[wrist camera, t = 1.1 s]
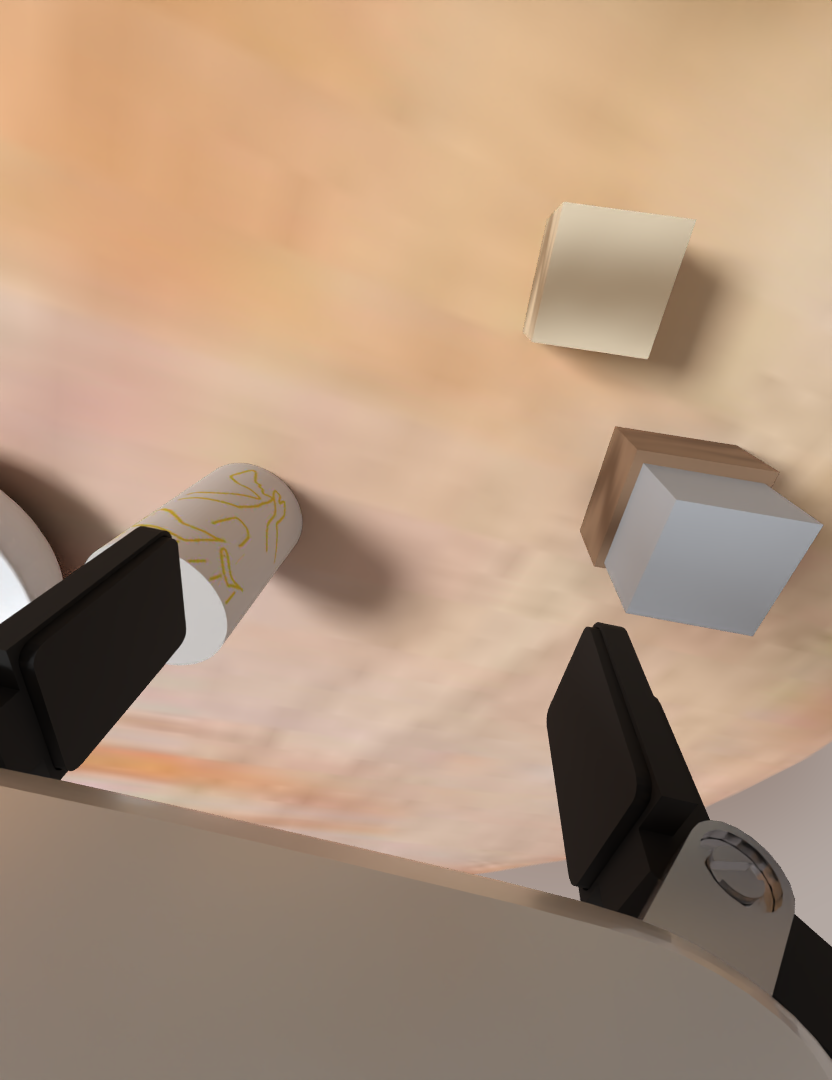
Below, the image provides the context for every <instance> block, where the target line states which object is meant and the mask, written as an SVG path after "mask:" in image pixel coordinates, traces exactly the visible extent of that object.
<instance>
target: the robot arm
mask: <svg viewBox="0 0 832 1080" xmlns="http://www.w3.org/2000/svg"><path fill="white" fill-rule="evenodd" d="M185 636H186V620H185V610H184V599H183V589H182V579H181V569H180V559H179V548H178V542H177V541H176V540H175V539H172V536H171V534H170V532H168V531H165V530H160V529H156V528H151V527H146V526H140V527H138V528H136V529H134V530H133V531H132V532H130V533H129V534H127V535H126V536H124V537H123V538H122V539H120V540H119V541H117V542H116V543H114V544H113V545H112V546H110V547H109V548H107V549H106V550H104V551H103V552H102V553H100V554H99V555H97V556H96V557H94V558H93V559H92V560H90V561H89V562H87V563H86V564H84V565H83V566H82V567H80V568H79V569H77V570H76V571H75V572H73V573H72V574H70V575H69V576H67V577H66V578H65V579H63V580H62V581H60V582H59V583H57V584H56V585H55V586H53V587H52V588H50V589H49V590H47V591H46V592H45V593H43V594H42V595H40V596H39V597H37V598H36V599H35V600H33V601H32V602H30V603H29V604H27V605H26V606H25V607H23V608H22V609H20V610H19V611H18V612H16V613H15V614H13V615H12V616H10V617H9V618H8V619H6V620H5V621H3V622H2V623H0V1080H832V947H831V946H830V945H829V944H828V943H827V942H826V941H824V940H823V939H822V938H821V937H820V936H819V935H817V933H815V932H814V931H813V930H812V929H811V928H809V926H807V925H806V924H805V923H804V922H803V921H802V920H801V919H800V918H798V917H797V916H796V915H795V914H794V913H795V898H794V895H793V892H792V888H791V885H790V883H789V881H788V879H787V877H786V876H785V874H784V872H783V871H782V869H781V867H780V866H779V865H778V863H777V862H776V861H775V860H774V858H773V857H772V856H771V855H770V854H769V852H768V851H766V850H765V849H764V848H763V847H762V846H761V845H760V844H759V843H758V842H757V841H755V840H754V839H753V838H752V837H750V836H749V835H747V834H746V833H744V832H743V831H741V830H739V829H738V828H736V827H734V826H731V825H729V824H726V823H724V822H720V821H713V820H710V819H709V817H708V814H707V812H706V809H705V807H704V805H703V802H702V800H701V798H700V795H699V793H698V791H697V788H696V786H695V784H694V781H693V779H692V776H691V774H690V772H689V769H688V767H687V765H686V762H685V760H684V758H683V755H682V753H681V751H680V748H679V746H678V744H677V741H676V739H675V737H674V734H673V732H672V729H671V727H670V725H669V722H668V720H667V718H666V715H665V713H664V711H663V708H662V706H661V704H660V702H659V701H658V699H657V698H656V697H655V696H653V693H652V691H651V688H650V686H649V684H648V681H647V679H646V676H645V674H644V672H643V669H642V667H641V664H640V662H639V660H638V657H637V655H636V652H635V650H634V648H633V645H632V643H631V640H630V638H629V636H628V633H627V631H626V630H625V628H623V627H619V626H614V625H609V624H604V623H600V622H597V623H595V624H594V626H593V627H586V628H585V629H584V631H583V633H582V635H581V637H580V639H579V642H578V644H577V646H576V648H575V651H574V653H573V655H572V657H571V660H570V662H569V664H568V666H567V669H566V671H565V673H564V675H563V677H562V680H561V682H560V684H559V686H558V689H557V691H556V693H555V695H554V698H553V700H552V702H551V704H550V707H549V709H548V713H547V730H548V737H549V744H550V751H551V758H552V765H553V772H554V778H555V785H556V792H557V799H558V806H559V813H560V819H561V826H562V833H563V840H564V847H565V854H566V860H567V867H568V874H569V879H570V881H571V884H572V885H573V886H578V887H579V893H580V900H581V901H578V900H574V899H570V898H566V897H562V896H558V895H554V894H550V893H547V892H543V891H539V890H535V889H531V888H526V887H523V886H519V885H515V884H511V883H507V882H503V881H499V880H495V879H491V878H487V877H482V876H478V875H474V874H470V873H465V872H461V871H457V870H452V869H448V868H444V867H440V866H435V865H431V864H427V863H423V862H418V861H414V860H410V859H405V858H401V857H397V856H393V855H388V854H384V853H380V852H376V851H371V850H367V849H363V848H358V847H354V846H350V845H345V844H341V843H337V842H332V841H328V840H324V839H319V838H315V837H311V836H306V835H302V834H297V833H293V832H289V831H284V830H280V829H276V828H271V827H267V826H262V825H258V824H254V823H249V822H245V821H240V820H236V819H232V818H227V817H223V816H218V815H214V814H210V813H205V812H201V811H196V810H192V809H188V808H183V807H179V806H174V805H170V804H165V803H161V802H156V801H152V800H147V799H143V798H138V797H134V796H129V795H125V794H120V793H116V792H111V791H107V790H102V789H98V788H93V787H89V786H84V785H80V784H75V783H71V782H66V781H62V780H61V779H62V777H63V776H64V775H65V774H66V773H67V772H68V771H73V770H75V769H77V768H78V767H79V766H80V765H81V764H82V763H83V762H84V761H85V759H86V758H87V757H88V756H89V755H90V753H91V752H92V751H93V750H94V749H95V747H96V746H97V745H98V744H99V743H100V741H101V740H102V739H103V738H104V737H105V735H106V734H107V733H108V732H109V731H110V729H111V728H112V727H113V726H114V725H115V724H116V722H117V721H118V720H119V719H120V718H121V716H122V715H123V714H124V713H125V712H126V710H127V709H128V708H129V707H130V706H131V704H132V703H133V702H134V701H135V700H136V698H137V697H138V696H139V695H140V694H141V692H142V691H143V690H144V689H145V688H146V686H147V685H148V684H149V683H150V682H151V681H152V679H153V678H154V677H155V676H156V675H157V673H158V672H159V671H160V670H161V669H162V667H163V666H164V665H165V664H166V663H167V661H168V660H169V659H170V658H171V657H172V655H173V654H174V653H175V652H176V651H177V649H178V648H179V647H180V646H181V644H182V643H183V641H184V639H185Z"/></svg>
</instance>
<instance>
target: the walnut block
mask: <svg viewBox="0 0 832 1080" xmlns="http://www.w3.org/2000/svg"><path fill="white" fill-rule="evenodd" d="M643 463H646V464H651V465H657V466H663V467H669V468H675V469H681V470H687V471H693V472H699V473H705V474H711V475H717V476H723V477H728V478H734V479H740V480H746V481H752V482H758V483H764V484H766V485H767V486H769V487H770V488H771V487H772V486H773V484H774V482H775V480H776V478H777V476H778V474H779V473H780V472H778V471H777V470H775V469H773V468H772V467H770V466H769V465H767V464H765V463H764V462H762V461H761V460H759V459H757V458H756V457H754V456H753V455H751V454H749V453H748V452H746V451H745V450H743V449H741V448H740V447H738V446H736V445H730V444H724V443H717V442H711V441H705V440H698V439H692V438H686V437H679V436H673V435H667V434H660V433H654V432H648V431H641V430H635V429H629V428H622V427H616V426H615V429H614V432H613V435H612V438H611V440H610V443H609V446H608V449H607V452H606V455H605V458H604V461H603V464H602V467H601V470H600V473H599V476H598V479H597V482H596V485H595V488H594V491H593V494H592V497H591V500H590V502H589V505H588V508H587V511H586V514H585V517H584V520H583V523H582V526H581V529H580V532H581V535H582V537H583V540H584V542H585V545H586V547H587V550H588V552H589V555H590V557H591V560H592V562H593V565H594V566H595V567H601V568H606V566H605V564H604V562H605V560H606V557H607V555H608V552H609V549H610V547H611V544H612V542H613V539H614V537H615V534H616V532H617V529H618V527H619V524H620V521H621V519H622V516H623V514H624V511H625V509H626V506H627V504H628V501H629V498H630V496H631V493H632V491H633V488H634V486H635V483H636V481H637V478H638V476H639V473H640V470H641V468H642V465H643Z"/></svg>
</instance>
